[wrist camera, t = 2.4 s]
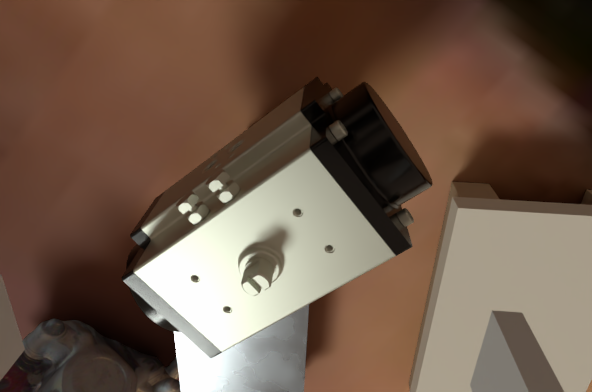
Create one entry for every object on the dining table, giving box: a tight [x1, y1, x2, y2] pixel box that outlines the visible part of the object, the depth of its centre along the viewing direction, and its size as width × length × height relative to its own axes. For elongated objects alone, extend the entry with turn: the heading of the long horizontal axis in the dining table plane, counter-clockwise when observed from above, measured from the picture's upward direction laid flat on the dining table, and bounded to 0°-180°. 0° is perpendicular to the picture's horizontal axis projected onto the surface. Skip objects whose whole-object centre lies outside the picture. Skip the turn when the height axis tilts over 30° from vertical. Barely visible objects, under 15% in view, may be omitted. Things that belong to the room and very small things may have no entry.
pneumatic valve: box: [122, 77, 432, 358], centre depth 20 cm, size 6×12×12 cm, turn 128°
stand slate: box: [174, 304, 309, 392], centre depth 30 cm, size 10×8×3 cm
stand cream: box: [409, 182, 592, 392], centre depth 28 cm, size 16×10×3 cm, turn 178°
